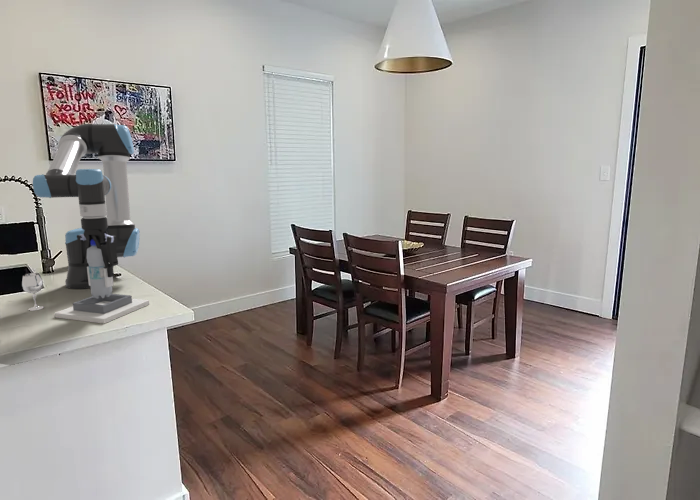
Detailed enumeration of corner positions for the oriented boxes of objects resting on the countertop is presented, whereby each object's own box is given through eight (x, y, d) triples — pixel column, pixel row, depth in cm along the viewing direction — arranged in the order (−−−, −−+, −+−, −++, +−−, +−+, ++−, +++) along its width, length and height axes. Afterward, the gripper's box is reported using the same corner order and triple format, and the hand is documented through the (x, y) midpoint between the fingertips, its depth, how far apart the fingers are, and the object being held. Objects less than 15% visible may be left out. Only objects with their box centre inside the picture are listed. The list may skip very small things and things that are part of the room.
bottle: (103, 300, 149) (97, 240, 145) (86, 299, 150) (79, 239, 146) (118, 294, 155) (112, 236, 151) (100, 293, 156) (94, 236, 153)
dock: (103, 299, 166) (102, 288, 165) (149, 304, 160) (148, 293, 160) (54, 317, 147) (53, 305, 146) (104, 323, 141) (103, 311, 141)
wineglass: (28, 307, 157) (23, 273, 155) (47, 305, 159) (43, 272, 157) (23, 312, 152) (18, 277, 150) (44, 310, 154) (39, 275, 152)
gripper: (60, 217, 147) (69, 286, 151) (108, 219, 141) (115, 290, 146) (80, 214, 154) (87, 280, 158) (126, 216, 148) (133, 284, 153)
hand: (101, 285), depth 152 cm, fingers closed on bottle, 6 cm apart
